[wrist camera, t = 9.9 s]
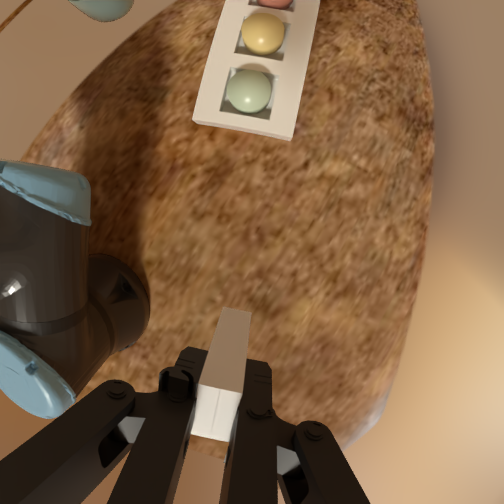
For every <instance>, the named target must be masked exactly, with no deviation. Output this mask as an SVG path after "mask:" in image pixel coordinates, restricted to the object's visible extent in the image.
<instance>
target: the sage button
mask: <svg viewBox="0 0 504 504" xmlns="http://www.w3.org/2000/svg"><path fill="white" fill-rule="evenodd" d="M227 95H228V98H229V100H230V102H231V104H232V106H233V107H234V108H235V109H236V110H237V111H239V112H241V113H243V114H257V113H259V112H261V111H263V110H264V109H265V108H266V107H267V106H268V104H269V102H270V97H271V85H270V82H269V80H268V79H267V77H266V76H265V75H264V74H262V73H261V72H259V71H256V70H243V71H240V72H238V73H236V74H235V75H233V76H232V77H231V79H230V80H229V82H228V85H227Z"/></svg>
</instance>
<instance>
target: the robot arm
mask: <svg viewBox="0 0 504 504" xmlns="http://www.w3.org/2000/svg"><path fill="white" fill-rule="evenodd" d="M90 204H91V187H90V184H89V182H88V180H87V179H86V177H84V176H83V175H82V174H80V173H77V172H73V171H69V170H64V169H59V168H54V167H49V166H43V165H38V164H33V163H27V162H20V161H14V160H6V159H0V389H1V390H2V391H3V392H4V393H5V394H6V395H7V396H8V397H9V398H10V399H11V400H12V401H13V402H15V403H16V404H17V405H18V406H20V407H21V408H23V409H24V410H26V411H27V412H29V413H31V414H33V415H35V416H38V417H41V418H47V419H50V418H55V417H58V418H56V419H55V420H54V421H53V422H52V423H50V424H49V425H47V426H46V427H45V428H43V429H42V430H41V431H39V432H38V433H37V434H35V435H34V436H33V437H31V438H30V439H29V440H27V441H26V442H25V443H23V444H22V445H21V446H19V447H18V448H17V449H15V450H14V451H13V452H11V453H10V454H9V455H7V456H6V457H5V458H3V459H2V460H1V461H0V504H81V502H83V501H84V499H85V498H86V497H87V496H88V495H89V494H90V493H91V492H92V491H93V490H94V489H95V488H96V487H97V486H98V485H99V484H100V483H101V482H102V480H103V479H104V478H105V477H106V476H107V475H108V474H109V473H110V472H111V471H112V470H113V468H115V466H116V465H117V464H118V463H119V462H120V461H121V460H122V459H123V458H124V457H125V455H126V454H127V453H128V452H129V451H130V450H131V451H130V453H129V455H128V457H127V460H126V462H125V464H124V466H123V468H122V471H121V473H120V475H119V477H118V480H117V482H116V484H115V486H114V489H113V491H112V493H111V495H110V498H109V500H108V502H107V504H173V500H174V496H175V493H176V489H177V485H178V481H179V478H180V474H181V470H182V466H183V463H184V459H185V456H186V452H187V449H188V445H189V438H190V434H194V435H198V436H202V437H207V438H211V439H216V440H221V441H226V442H229V446H228V450H227V453H226V457H225V460H224V463H225V467H224V474H223V481H222V487H221V494H220V501H219V504H278V495H277V494H278V488H277V480H278V483H279V486H280V489H281V492H282V495H283V498H284V501H285V503H286V504H370V502H369V500H368V498H367V497H366V495H365V493H364V491H363V489H362V487H361V486H360V484H359V482H358V480H357V478H356V477H355V475H354V473H353V471H352V469H351V468H350V466H349V464H348V462H347V460H346V458H345V457H344V455H343V453H342V451H341V449H340V447H339V445H338V444H337V442H336V440H335V438H334V436H333V434H332V433H331V431H330V430H329V428H328V427H327V426H325V425H324V424H322V423H320V422H317V421H309V420H308V421H304V422H301V423H300V424H298V425H297V426H296V425H293V424H290V423H287V422H285V421H283V420H282V419H280V418H279V417H278V416H277V415H276V413H275V410H274V409H273V408H272V379H271V378H272V370H271V368H270V367H269V365H268V363H267V362H262V361H257V360H252V359H246V358H247V349H248V340H249V330H250V321H251V312H247V311H242V310H237V309H233V308H228V307H224V306H223V308H222V311H221V315H220V318H219V321H218V324H217V327H216V330H215V333H214V336H213V339H212V342H211V345H210V349H209V351H206V350H202V349H197V348H193V347H189V346H188V347H187V348H185V349H184V350H182V351H181V353H180V355H179V357H178V359H177V361H176V363H175V366H174V367H167V368H165V369H163V370H162V371H161V372H160V373H159V389H158V391H157V392H152V393H140V392H135V390H134V388H133V386H131V385H130V384H129V383H127V382H125V381H122V380H108V381H106V382H104V383H102V384H101V385H99V386H98V387H97V388H95V389H94V390H93V391H92V392H90V393H89V394H88V395H86V396H85V397H84V398H82V399H81V400H80V401H79V402H77V403H76V404H75V405H73V406H72V407H71V408H69V406H71V405H72V404H74V403H75V401H76V398H77V396H78V395H79V394H80V392H81V391H82V390H83V389H84V387H85V386H86V385H87V383H88V382H89V381H90V380H91V378H92V377H93V376H94V375H95V373H96V372H97V371H98V369H99V368H100V367H101V366H102V364H103V363H104V362H105V361H106V359H107V358H108V357H109V356H110V355H112V354H114V353H116V352H117V351H121V350H124V349H127V348H129V347H130V346H132V345H133V344H134V343H135V342H136V341H137V340H138V339H139V338H140V336H141V335H142V334H143V332H144V331H145V329H146V327H147V325H148V321H149V314H150V309H149V301H148V297H147V294H146V291H145V289H144V287H143V285H142V283H141V281H140V280H139V278H138V277H137V276H136V274H135V273H134V272H133V271H132V270H131V269H130V268H129V267H128V266H127V265H125V264H124V263H123V262H121V261H120V260H118V259H116V258H114V257H111V256H108V255H103V254H93V255H89V256H88V250H89V230H90V226H91V223H92V220H91V219H90ZM68 408H69V409H68ZM66 409H68V410H67V411H66ZM64 411H66V412H64Z"/></svg>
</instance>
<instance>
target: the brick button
mask: <svg viewBox="0 0 504 504" xmlns="http://www.w3.org/2000/svg"><path fill="white" fill-rule="evenodd" d="M257 2H258V4H259V5H260V6H261V7H266V8H273V9H279V10H285V9H287V8H288V7H290V6H291V5H292V3H293V0H257Z"/></svg>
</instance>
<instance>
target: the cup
mask: <svg viewBox="0 0 504 504" xmlns="http://www.w3.org/2000/svg"><path fill="white" fill-rule="evenodd" d="M68 1H69V2H70V3H71V4H73V5H74V6H75V7H76V8H78V9H79V10H80V11H82V12H83V13H84V14H86V15H87V16H89V17H90V18H92V19H94V20H97V21H100V22H111V21H114V20H117V19H119V18H121V17H123V16H124V15H125V14H127V13H128V12H129V10H130V9H131V7H132V5H133V2H134V0H68Z"/></svg>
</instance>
